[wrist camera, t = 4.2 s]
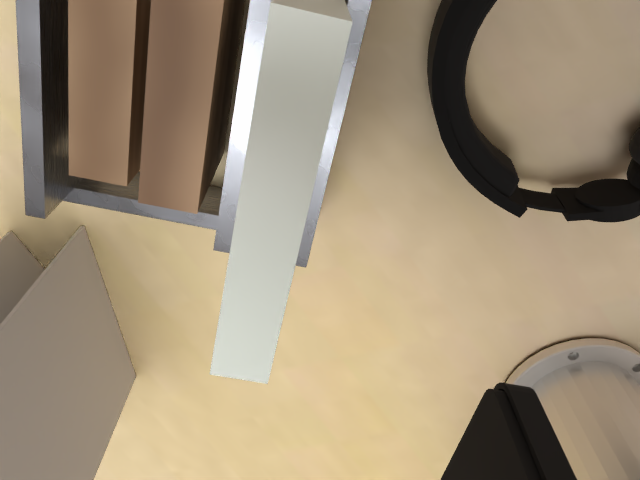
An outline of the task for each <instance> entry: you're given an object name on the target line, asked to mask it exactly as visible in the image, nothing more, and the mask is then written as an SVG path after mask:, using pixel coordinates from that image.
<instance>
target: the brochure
mask: <svg viewBox="0 0 640 480" xmlns="http://www.w3.org/2000/svg"><path fill="white" fill-rule="evenodd" d="M135 378H136V374H135V371H134V368H133V365H132V363H131V360H130V357H129V354H128V351H127V348H126V345H125V342H124V339H123V336H122V334H121V331H120V328H119V325H118V322H117V319H116V316H115V313H114V310H113V307H112V305H111V302H110V299H109V296H108V293H107V290H106V287H105V284H104V281H103V278H102V276H101V273H100V270H99V267H98V264H97V261H96V258H95V255H94V252H93V249H92V247H91V244H90V241H89V238H88V235H87V232H86V229H85V226H80V227H79V228H78V229H77V231H76V232H75V233H74V234H73V236H72V237H71V238H70V239H69V241H68V242H67V243H66V244H65V245H64V247H63V248H62V249H61V250H60V252H59V253H58V254H57V255H56V257H55V258H54V259H53V260H52V262H51V263H50V264H49V265H48V266H47V268H46V269H44V268H43V267H42V266H41V264H40V263H39V262H38V261H37V260H36V259H35V257H34V256H33V255H32V254H31V253H30V252H29V250H28V249H27V248H26V247H25V246H24V245H23V243H22V242H21V241H20V240H19V239H18V238H17V236H16V235H15V234H14V233H13V232H12V231H10V232H8V233H7V234H6V235H5V236H4V237H3V238H2V239H1V240H0V480H94V477H95V475H96V472H97V470H98V468H99V465H100V463H101V460H102V458H103V456H104V453H105V451H106V448H107V446H108V443H109V441H110V439H111V436H112V434H113V431H114V429H115V426H116V424H117V422H118V419H119V417H120V414H121V412H122V409H123V407H124V405H125V402H126V400H127V397H128V395H129V392H130V390H131V388H132V385H133V383H134V380H135Z"/></svg>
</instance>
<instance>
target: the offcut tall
mask: <svg viewBox="0 0 640 480" xmlns="http://www.w3.org/2000/svg"><path fill="white" fill-rule="evenodd" d="M244 7H245V0H151V10H150V26H149V41H148V56H147V72H146V87H145V102H144V118H143V133H142V149H141V164H140V179H139V195H138V203H142V204H148V205H153V206H158V207H163V208H168V209H174V210H179V211H184V212H189V213H194V214H198V211H199V209H200V207H201V204H202V202H203V200H204V197H205V195H206V193H207V190H208V188H209V186H210V183H211V181H212V179H213V176H214V174H215V172H216V169H217V167H218V165H219V163H220V160H221V158H222V156H223V153H224V147H225V140H226V133H227V126H228V119H229V112H230V105H231V98H232V91H233V84H234V77H235V70H236V63H237V56H238V49H239V42H240V35H241V28H242V21H243V14H244Z"/></svg>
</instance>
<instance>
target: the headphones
mask: <svg viewBox="0 0 640 480" xmlns="http://www.w3.org/2000/svg"><path fill="white" fill-rule="evenodd" d="M496 1H497V0H442V1H441V3H440V6H439V8H438V11H437V14H436V17H435V20H434V24H433V27H432V31H431V36H430V41H429V47H428V61H427V73H428V85H429V91H430V97H431V102H432V106H433V110H434V114H435V118H436V121H437V125H438V128H439V132H440V136H441V139H442V141H443V143H444V145H445V147H446V149H447V152H448V154H449V156H450V158H451V159H452V161H453V162H454V164H455V165H456V167H457V169H458V170H459V171H460V172H461V173H462V175H463V176H464V177H465V178H466V180H467V181H468V182H469V183H470V184H471V185H472V186H473V187H474V188H476V189H477V190H478V191H479V192H480V193H481V194H483V195H484V196H485V197H487V198H488V199H489V200H491V201H492V202H493V203H495V204H497V205H498V206H500V207H502V208H503V209H505V210H506V211H508V212H510V213H512V214H514V215H516V216H518V217H519V218H520V217H521V216H522V215H523V214H524V212H525V211H526V210H527V207H529V208H534V209H538V210H545V211H553V212H561V213H563V215H564V217H565V218H566V220H567V221H577V220H593V221H598V222H620V221H626V220H630V219H633V218H635V217H637V216H639V215H640V127H639V128H638V129H637V131H636V132H635V134H634V135H633V136H632V138H631V141H630V144H629V151H630V154H631V156H632V160H631V162H630V164H629V166H628V170H627V179H628V180H624V179H601V180H595V181H591V182H588V183H585V184H583V185H582V186H580V187H579V188H552V192H551V194H550V193H543V192H536V191H531V190H526V189H522V188H519V187H518V182H519V178H518V175H517V173H516V170H515V168H514V165H513V163H512V161H511V159H510V158H509V157H507V156H506V155H505V154H503V153H502V152H501V151H500V150H498V149H497V148H496V147H495V146H493V145H492V144H491V143H490V142H489V141H488V140H487V139H486V137H485V136H484V135H483V134H482V133H481V132H480V131H479V130H478V128H477V127H476V125H475V123H474V122H473V120H472V118H471V116H470V113H469V109H468V104H467V100H466V95H465V74H466V65H467V60H468V57H469V53H470V49H471V46H472V43H473V41H474V38H475V36H476V34H477V31H478V29H479V27H480V26H481V24H482V22H483V20H484V19H485V17H486V15H487V14H488V12H489V11H490V9H491V8H492V7H493V5H494V4H495V2H496Z"/></svg>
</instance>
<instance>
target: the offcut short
mask: <svg viewBox="0 0 640 480" xmlns="http://www.w3.org/2000/svg"><path fill="white" fill-rule="evenodd" d="M150 10H151V0H68V99H69V175H71V176H76V177H81V178H86V179H91V180H96V181H101V182H106V183H111V184H116V185H122V186H128V184H129V183H130V182H131V180H132V179H133V178H134V177H135V175H136V174H137V173H138V171H139V170H140V164H141V149H142V133H143V118H144V102H145V87H146V72H147V56H148V41H149V26H150Z"/></svg>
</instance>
